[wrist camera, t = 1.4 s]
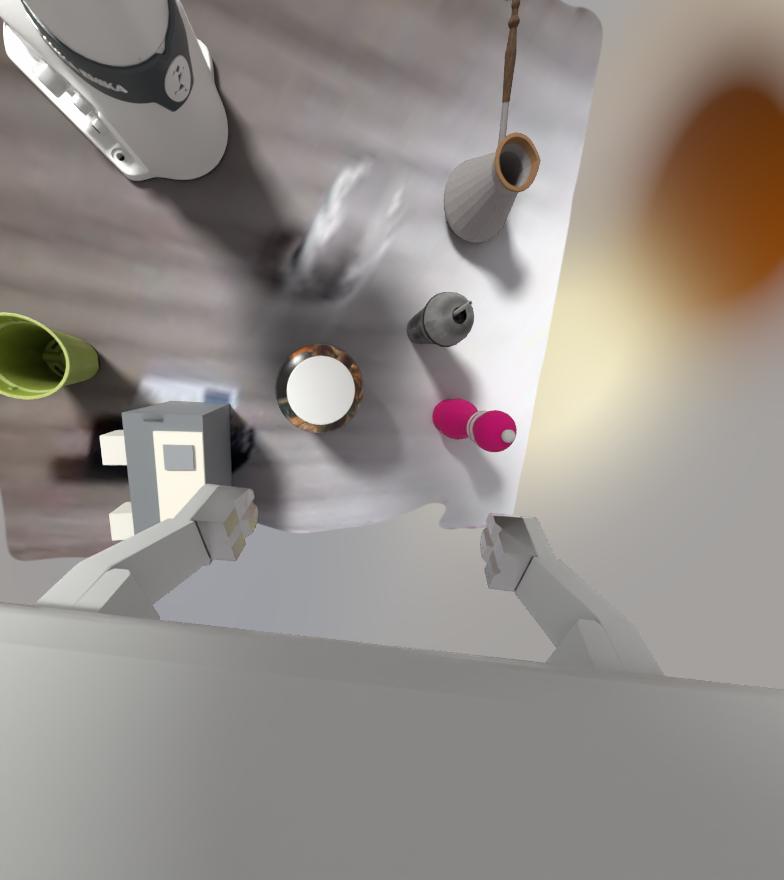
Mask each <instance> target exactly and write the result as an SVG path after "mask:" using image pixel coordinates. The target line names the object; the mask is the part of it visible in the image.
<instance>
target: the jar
mask: <svg viewBox="0 0 784 880" xmlns="http://www.w3.org/2000/svg"><path fill="white" fill-rule="evenodd" d="M275 393H276V399H277V402H278V405H279V407H280V410H281V411H282V413H283V414H284V416H285V417H286V418H287V419H288V420H289V421H290V422H291V423H292V424H293V425H295V426H296V427H298V428H300V429H302V430H305V431H308V432H313V433H325V432H330V431H333V430H336V429H338V428H340V427H342V426H343V425H345V424H346V423H347V422H349V421H350V420H351V419H352V417H353V416H354V415H355V414H356V412H357V410H358V408H359V406H360V404H361V401H362V397H363V380H362V375H361V373H360V370H359V368H358V366H357V364H356V363H355V361H354V360H353V359H352V358H351V357H350V356H349V355H348V354H347V353H346V352H344V351H343V350H341V349H339V348H337V347H335V346H332V345H327V344H312V345H308V346H305V347H302V348H300V349H298V350H296V351H295V352H293V353H292V354H291V355H290V356H289V357H288V358H287V359H286V360H285V361H284V363H283V364H282V366H281V368H280V370H279V372H278V375H277V378H276V385H275Z"/></svg>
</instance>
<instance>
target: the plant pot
mask: <svg viewBox="0 0 784 880" xmlns="http://www.w3.org/2000/svg"><path fill="white" fill-rule="evenodd" d="M56 342H58V343H59V345H58V346H57V347H55V348H54V349H52V346H53V345H54V344H55V343H56ZM55 366H57V367H58V368H59V369H60V370H61V371H63V372H64V373H65V374H62V373H60V372H58V371H57V370H56V369H55ZM98 369H99V364H98V355H97V353H96V351H95V350H94V349H93V348H92V347H91V346H90V345H89V344H88V343H87V342H85V341H83V340H82V339H79V338H77V337H73V336H70V335H67V334H63V333H60V332H57V331H54V330H51V329H49V328H48V327H46V326H45V325H43V324H42V323H40V322H38V321H36V320H34V319H31V318H28V317H25V316H22V315H18V314H13V313H0V394H2V395H5V396H8V397H12V398H18V399H39V398H44V397H47V396H50V395H52V394H54V393H56V392H57V391H59V390H60V389H61V388H62V387H63V386H67V385H70V384H74V383H78V382H82V381H85V380H88V379H90V378H92V377H93V376H94V375H95V374H96V373H97V371H98Z"/></svg>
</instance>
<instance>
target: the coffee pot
mask: <svg viewBox="0 0 784 880" xmlns="http://www.w3.org/2000/svg"><path fill="white" fill-rule="evenodd" d="M506 1H512V16H511V18H510V20H509V22H508V26H509V28H510V32H509V37H508V43H507V49H506V53H505V66H504V83H503V100H502V103H503V106H502V115H501V124H500V132H499V141H498V148H497V150H496V152H495V153H492V154H488V155H485V156H481V157H477V158H474V159H470V160H467V161H465V162H463V163H462V164H460V165H459V166H457V167H456V168H455V170H454V171H453V172H452V173H451V175H450V177H449V179H448V182H447V184H446V188H445V193H444V211H445V215H446V219H447V221H448V223H449V225H450V227H451V229H452V230H453V231H454V232H455V234H456V235H458V236H459V237H460V238H462V239H463V240H466V241H469V242H476V243H481V242H484V241H487V240H490V239H491V238H493V237H494V236H496V235H497V233H498V232H499V231H500V230H501V228H502V227H503V225H504V223H505V221H506V219H507V217H508V214H509V212H510V210H511V207H512V205H513V203H514V200H515V198H516V195H517V193H518V192H521V191H524V190H526V189H527V188H529V186H530V185H531V184H532V183H533V181H534V179H535V177H536V175H537V172H538V169H539V164H540V158H539V155H538V152H537V150H536V148H535V146H534V144H533V143H532V141H531V140H530V139H529V138H528V137H527V136H525V135H523V134H521V133H512V134H509V135H507V136H506V129H507V118H508V106H509V101H510V94H511V87H512V80H513V73H514V66H515V59H516V35H517V26H518V24H519V21H520V19H519V17H518V8H519V5H520V0H506Z"/></svg>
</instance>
